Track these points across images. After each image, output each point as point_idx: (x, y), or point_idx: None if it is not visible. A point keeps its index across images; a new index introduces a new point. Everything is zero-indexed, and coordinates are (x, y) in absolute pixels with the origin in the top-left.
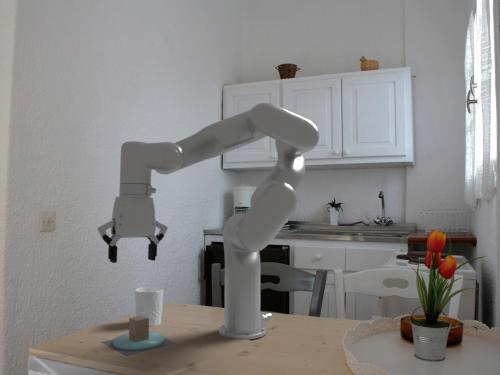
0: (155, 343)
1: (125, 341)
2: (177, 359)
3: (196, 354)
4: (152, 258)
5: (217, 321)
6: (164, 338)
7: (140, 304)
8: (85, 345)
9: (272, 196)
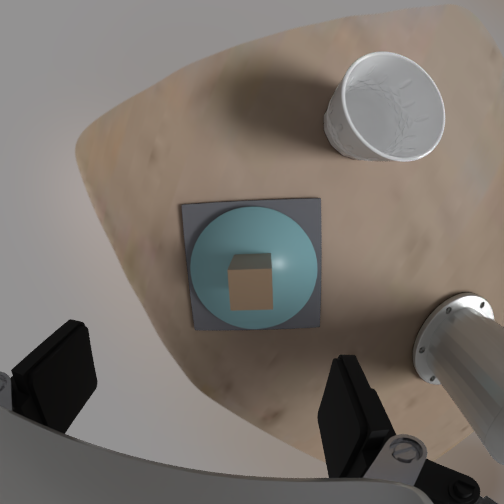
0: (268, 325)
1: (218, 267)
2: (270, 388)
3: (312, 388)
4: (319, 422)
5: (484, 231)
6: (317, 283)
7: (338, 127)
8: (151, 189)
9: None
